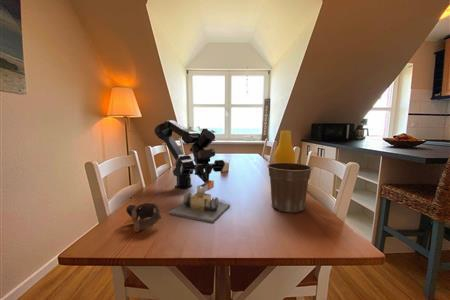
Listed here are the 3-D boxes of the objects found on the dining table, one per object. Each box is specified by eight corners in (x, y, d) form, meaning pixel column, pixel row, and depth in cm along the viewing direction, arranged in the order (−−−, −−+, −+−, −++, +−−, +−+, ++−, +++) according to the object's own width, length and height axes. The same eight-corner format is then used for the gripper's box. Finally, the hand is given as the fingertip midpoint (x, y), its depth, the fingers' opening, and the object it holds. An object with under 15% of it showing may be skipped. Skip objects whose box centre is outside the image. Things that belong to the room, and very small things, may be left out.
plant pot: (263, 199, 89) (264, 161, 87) (301, 199, 89) (303, 162, 87) (270, 215, 73) (271, 170, 71) (317, 216, 73) (319, 170, 71)
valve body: (183, 207, 77) (182, 192, 76) (190, 203, 82) (190, 189, 81) (212, 213, 72) (212, 197, 72) (218, 208, 77) (218, 193, 76)
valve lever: (202, 195, 74) (202, 187, 74) (195, 194, 76) (195, 186, 75) (214, 187, 84) (214, 180, 84) (208, 186, 85) (208, 179, 85)
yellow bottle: (271, 194, 95) (273, 130, 91) (274, 189, 103) (276, 130, 100) (292, 197, 91) (295, 131, 88) (294, 191, 100) (297, 130, 96)
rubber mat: (169, 214, 73) (169, 211, 73) (191, 200, 87) (191, 198, 87) (212, 222, 67) (212, 220, 67) (229, 206, 81) (229, 204, 81)
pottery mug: (167, 219, 70) (167, 203, 65) (151, 245, 63) (149, 229, 58) (135, 208, 72) (132, 191, 67) (116, 231, 64) (111, 215, 59)
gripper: (181, 142, 85) (187, 175, 76) (223, 141, 92) (233, 171, 83) (178, 159, 93) (183, 190, 84) (217, 157, 100) (226, 185, 92)
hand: (207, 183), depth 86 cm, fingers closed
